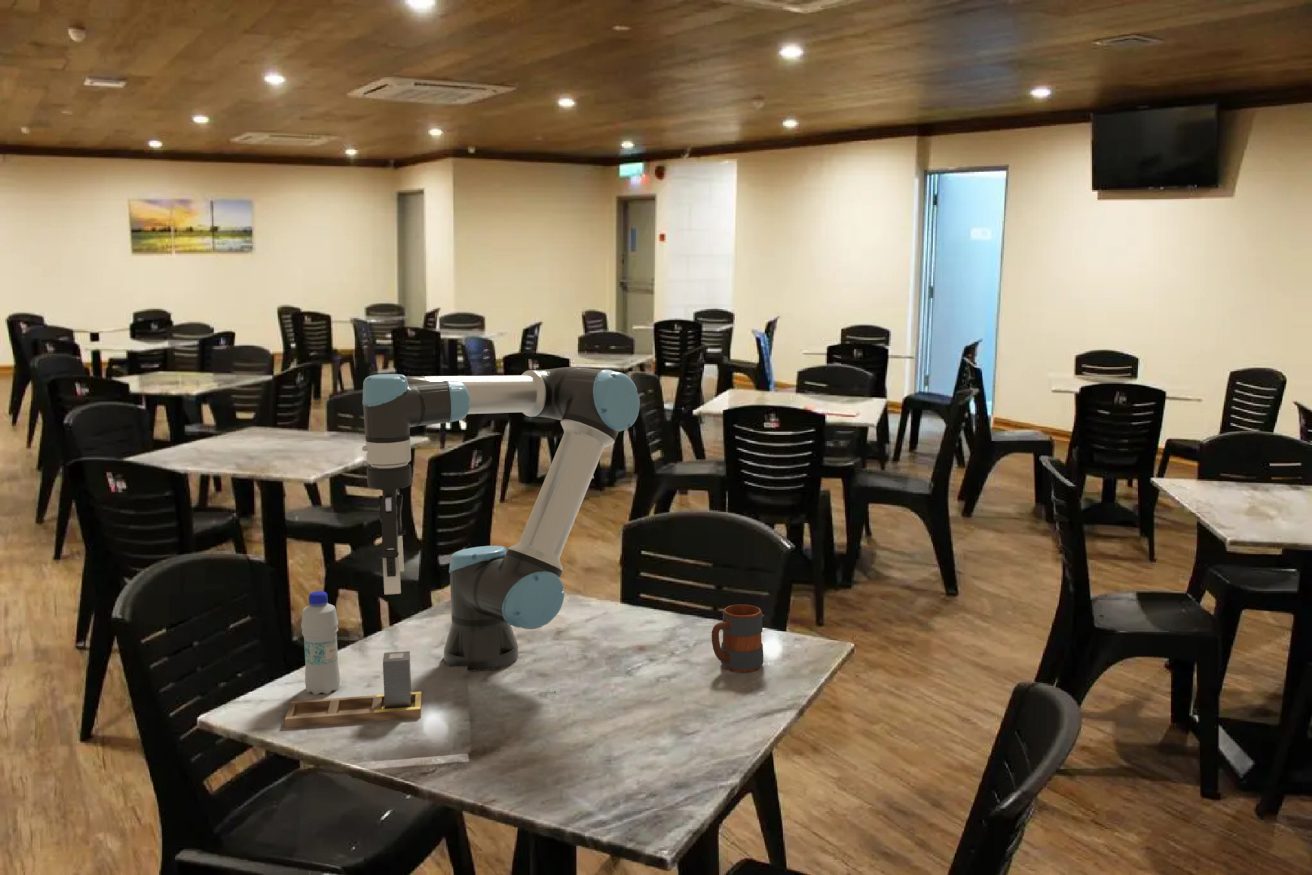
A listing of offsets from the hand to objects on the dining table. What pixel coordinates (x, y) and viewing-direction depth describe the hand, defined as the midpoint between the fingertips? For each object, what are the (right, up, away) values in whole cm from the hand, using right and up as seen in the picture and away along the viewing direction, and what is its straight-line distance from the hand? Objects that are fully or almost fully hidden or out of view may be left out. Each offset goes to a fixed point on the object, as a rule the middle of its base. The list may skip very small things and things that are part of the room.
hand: (394, 582), depth 195 cm
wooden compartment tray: (-8, -25, +2) cm, 26 cm away
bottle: (-17, -23, +14) cm, 32 cm away
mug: (+62, -21, +27) cm, 71 cm away
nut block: (0, -23, +4) cm, 24 cm away
